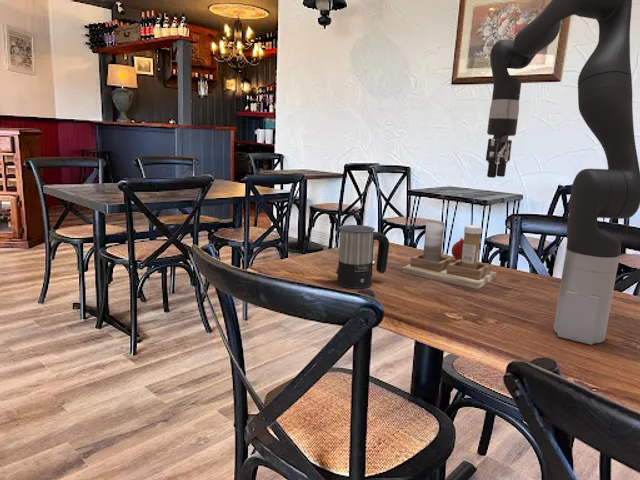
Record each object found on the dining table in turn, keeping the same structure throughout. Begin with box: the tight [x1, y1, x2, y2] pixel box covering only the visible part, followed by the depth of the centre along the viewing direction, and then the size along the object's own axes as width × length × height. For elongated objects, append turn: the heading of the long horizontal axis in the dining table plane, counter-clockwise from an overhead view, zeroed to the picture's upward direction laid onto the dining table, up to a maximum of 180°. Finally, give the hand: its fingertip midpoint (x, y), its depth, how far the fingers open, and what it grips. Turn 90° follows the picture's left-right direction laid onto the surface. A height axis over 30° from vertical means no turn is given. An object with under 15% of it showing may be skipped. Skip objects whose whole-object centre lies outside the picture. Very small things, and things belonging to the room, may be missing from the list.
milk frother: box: [335, 224, 390, 290], centre depth 128 cm, size 14×16×15 cm
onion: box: [451, 237, 464, 261], centre depth 153 cm, size 6×6×8 cm
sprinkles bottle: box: [461, 224, 483, 270], centre depth 134 cm, size 5×5×14 cm
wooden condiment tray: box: [401, 220, 497, 290], centre depth 137 cm, size 15×22×14 cm
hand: (496, 176), depth 137 cm, fingers open, 8 cm apart
